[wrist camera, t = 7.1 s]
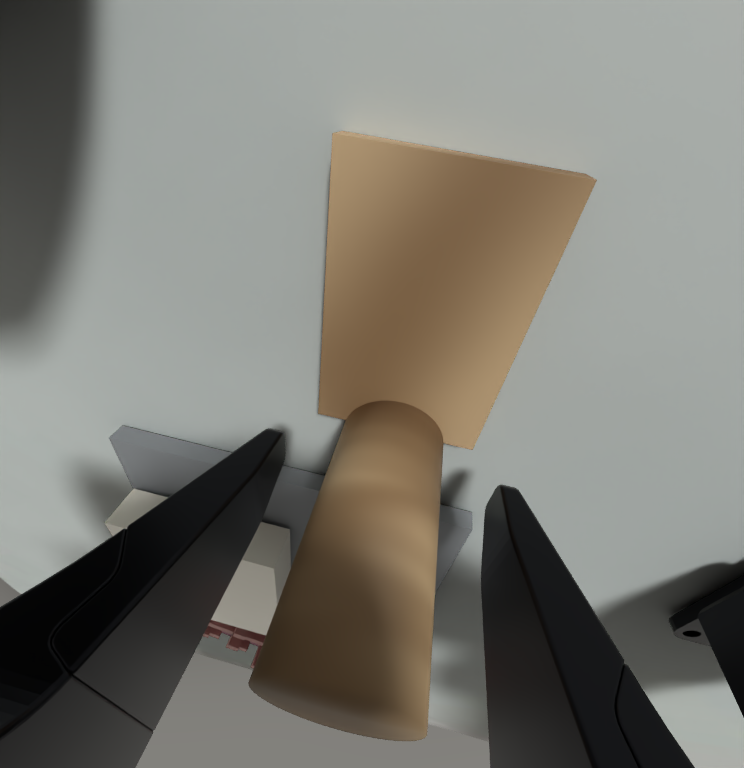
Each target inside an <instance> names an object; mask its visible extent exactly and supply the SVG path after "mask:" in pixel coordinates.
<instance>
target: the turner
mask: <svg viewBox="0 0 744 768" xmlns="http://www.w3.org/2000/svg"><path fill="white" fill-rule="evenodd" d="M596 181H597V180H596V179H594V178H592V177H590V176H589V175H587V174H583V173H577V172H571V171H566V170H560V169H554V168H549V167H543V166H538V165H532V164H526V163H521V162H515V161H509V160H504V159H498V158H492V157H487V156H481V155H475V154H470V153H464V152H458V151H453V150H447V149H441V148H436V147H430V146H424V145H419V144H413V143H408V142H402V141H396V140H391V139H385V138H379V137H374V136H368V135H362V134H357V133H351V132H345V131H340V132H335V133H333V134H332V154H331V173H330V193H329V213H328V232H327V252H326V272H325V291H324V311H323V331H322V350H321V370H320V390H319V409H318V414H322V415H327V416H331V417H335V418H339V419H344V420H346V421H345V424H344V426H343V429H342V432H341V434H340V437H339V440H338V443H337V445H336V448H335V451H334V453H333V456H332V459H331V461H330V464H329V467H328V470H327V472H326V475H325V478H324V480H323V483H322V486H321V488H320V491H319V494H318V497H317V499H316V502H315V505H314V507H313V510H312V513H311V515H310V518H309V521H308V523H307V526H306V529H305V532H304V534H303V537H302V540H301V542H300V545H299V548H298V550H297V553H296V556H295V559H294V561H293V564H292V567H291V569H290V572H289V575H288V577H287V580H286V583H285V586H284V588H283V591H282V594H281V596H280V599H279V602H278V604H277V607H276V610H275V613H274V615H273V618H272V621H271V623H270V626H269V629H268V631H267V634H266V637H265V640H264V642H263V645H262V648H261V650H260V653H259V656H258V658H257V661H256V664H255V666H254V669H253V672H252V675H251V677H250V680H249V687H250V688H251V690H252V691H253V692H254V693H256V694H257V695H258V696H259V697H261V698H262V699H264V700H266V701H267V702H269V703H271V704H273V705H275V706H276V707H278V708H281V709H283V710H285V711H287V712H289V713H292V714H294V715H297V716H299V717H302V718H304V719H307V720H310V721H313V722H315V723H318V724H321V725H324V726H328V727H331V728H334V729H338V730H341V731H345V732H349V733H353V734H357V735H362V736H367V737H372V738H378V739H385V740H394V741H416V740H421V739H423V738H425V737H426V736H427V727H428V709H429V691H430V673H431V656H432V638H433V620H434V602H435V584H436V566H437V548H438V530H439V512H440V495H441V477H442V459H443V443H445V444H449V445H454V446H458V447H462V448H466V449H470V450H473V448H474V446H475V443H476V441H477V439H478V437H479V435H480V433H481V430H482V428H483V426H484V424H485V422H486V420H487V417H488V415H489V413H490V411H491V409H492V407H493V404H494V402H495V400H496V398H497V396H498V394H499V391H500V389H501V387H502V385H503V383H504V381H505V378H506V376H507V374H508V372H509V370H510V367H511V365H512V363H513V361H514V359H515V357H516V354H517V352H518V350H519V348H520V346H521V344H522V341H523V339H524V337H525V335H526V333H527V331H528V328H529V326H530V324H531V322H532V320H533V318H534V315H535V313H536V311H537V309H538V307H539V305H540V302H541V300H542V298H543V296H544V294H545V291H546V289H547V287H548V285H549V283H550V281H551V278H552V276H553V274H554V272H555V270H556V268H557V265H558V263H559V261H560V259H561V257H562V255H563V252H564V250H565V248H566V246H567V244H568V242H569V239H570V237H571V235H572V233H573V231H574V228H575V226H576V224H577V222H578V220H579V218H580V215H581V213H582V211H583V209H584V207H585V205H586V202H587V200H588V198H589V196H590V194H591V192H592V189H593V187H594V185H595V183H596Z"/></svg>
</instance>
